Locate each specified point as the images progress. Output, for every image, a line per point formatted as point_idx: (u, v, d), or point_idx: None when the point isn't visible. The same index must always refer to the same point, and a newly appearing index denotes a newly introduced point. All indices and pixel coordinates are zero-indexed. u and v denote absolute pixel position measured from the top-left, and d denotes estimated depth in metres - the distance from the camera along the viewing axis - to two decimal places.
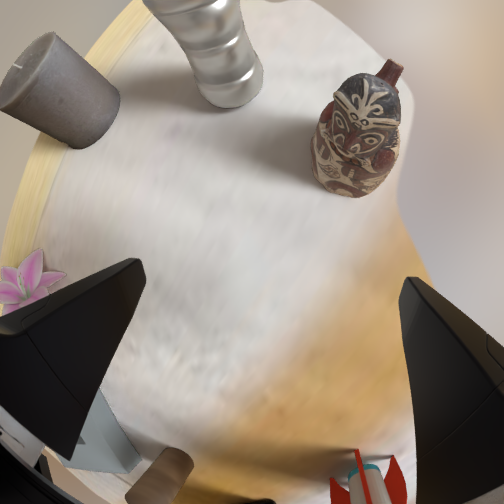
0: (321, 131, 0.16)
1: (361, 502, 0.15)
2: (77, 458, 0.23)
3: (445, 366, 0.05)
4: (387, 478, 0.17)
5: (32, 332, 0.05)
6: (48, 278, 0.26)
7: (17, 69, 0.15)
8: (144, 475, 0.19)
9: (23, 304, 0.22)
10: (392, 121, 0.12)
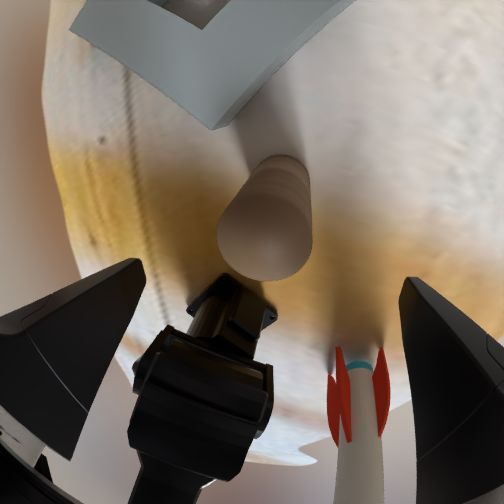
0: None
1: (372, 406, 0.20)
2: (129, 30, 0.12)
3: (445, 366, 0.05)
4: None
5: (32, 333, 0.05)
6: None
7: None
8: (294, 182, 0.13)
9: None
10: None
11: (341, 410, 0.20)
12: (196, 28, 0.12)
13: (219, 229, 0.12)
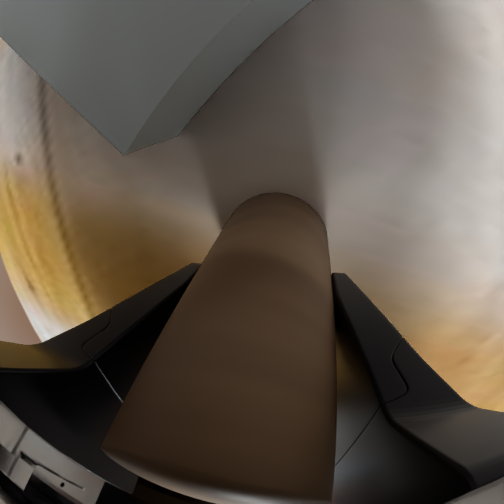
0: None
1: None
2: None
3: (348, 370, 0.05)
4: None
5: (100, 361, 0.05)
6: None
7: None
8: (305, 315, 0.05)
9: None
10: None
11: None
12: None
13: (109, 455, 0.03)
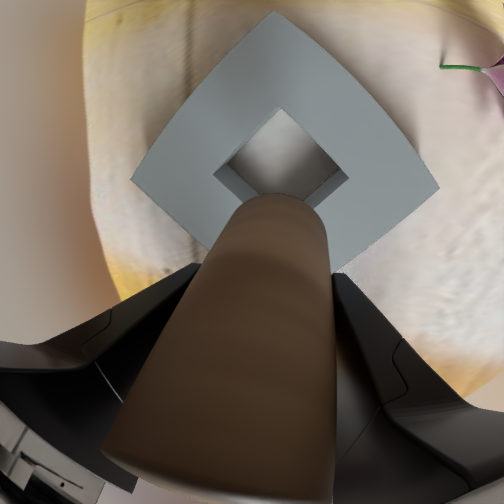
0: None
1: None
2: (207, 214, 0.19)
3: (348, 370, 0.05)
4: None
5: (100, 360, 0.05)
6: None
7: None
8: (306, 317, 0.05)
9: None
10: None
11: None
12: None
13: (108, 457, 0.03)
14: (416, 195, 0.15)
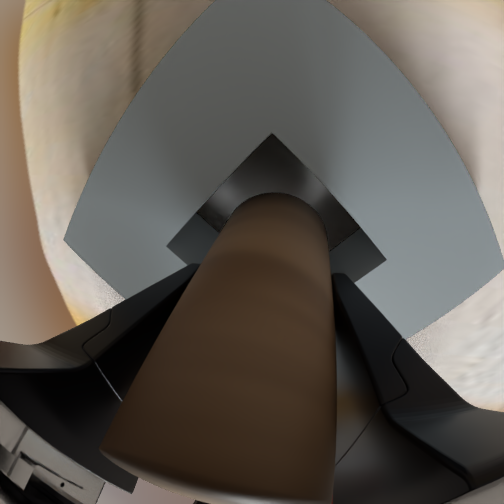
0: None
1: None
2: None
3: (348, 370, 0.05)
4: None
5: (100, 360, 0.05)
6: None
7: None
8: (305, 316, 0.05)
9: None
10: None
11: None
12: None
13: (107, 456, 0.03)
14: (475, 279, 0.09)
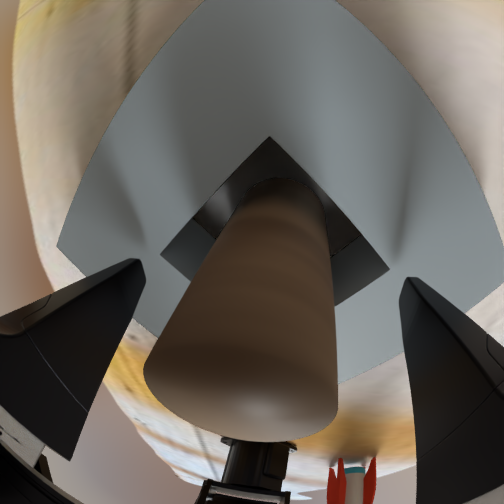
0: None
1: (360, 502, 0.21)
2: (160, 306, 0.12)
3: (445, 366, 0.05)
4: None
5: (33, 333, 0.05)
6: None
7: None
8: (308, 259, 0.07)
9: None
10: None
11: None
12: None
13: (148, 376, 0.05)
14: (480, 288, 0.08)
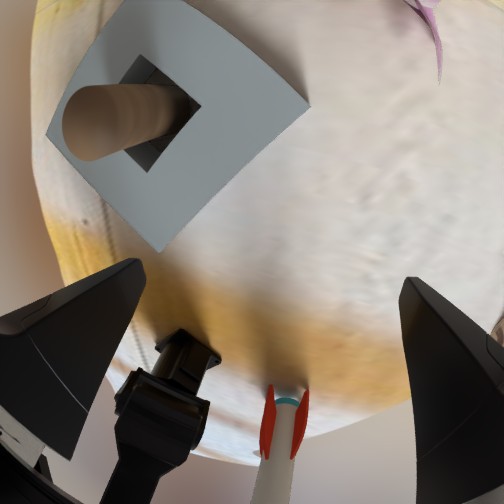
0: None
1: (289, 435, 0.27)
2: None
3: (445, 366, 0.05)
4: None
5: (32, 333, 0.05)
6: (432, 22, 0.10)
7: None
8: (137, 87, 0.13)
9: (422, 7, 0.07)
10: None
11: (263, 435, 0.27)
12: (142, 170, 0.18)
13: (63, 120, 0.11)
14: (280, 116, 0.14)
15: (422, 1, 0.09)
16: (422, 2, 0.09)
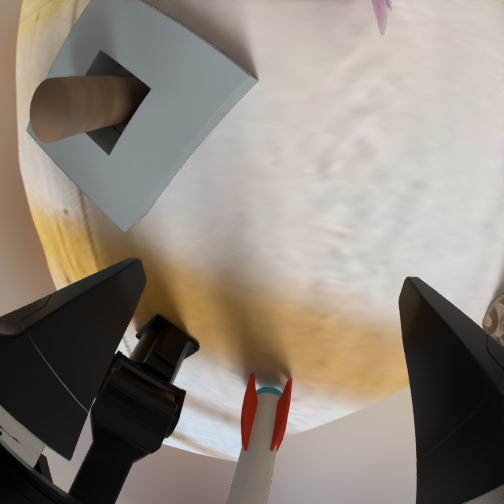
0: None
1: (269, 426, 0.27)
2: (65, 146, 0.18)
3: (445, 366, 0.05)
4: None
5: (33, 333, 0.05)
6: None
7: None
8: (93, 77, 0.13)
9: None
10: None
11: (242, 425, 0.27)
12: (105, 153, 0.18)
13: (30, 110, 0.11)
14: (220, 89, 0.14)
15: None
16: None
